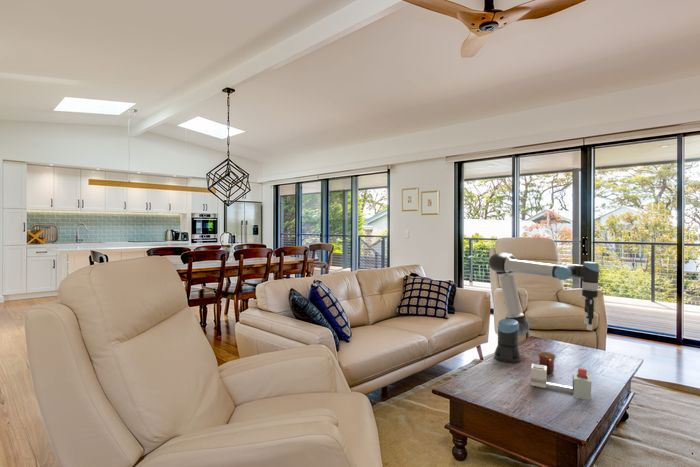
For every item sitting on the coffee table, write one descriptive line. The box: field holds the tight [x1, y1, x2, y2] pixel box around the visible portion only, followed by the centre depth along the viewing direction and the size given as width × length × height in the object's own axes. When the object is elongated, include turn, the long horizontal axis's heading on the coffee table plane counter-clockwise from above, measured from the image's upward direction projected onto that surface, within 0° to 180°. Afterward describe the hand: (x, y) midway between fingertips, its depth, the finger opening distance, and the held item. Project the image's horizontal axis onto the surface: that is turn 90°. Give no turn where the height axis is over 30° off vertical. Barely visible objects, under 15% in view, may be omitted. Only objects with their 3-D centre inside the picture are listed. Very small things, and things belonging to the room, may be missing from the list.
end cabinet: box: [572, 371, 592, 401], centre depth 189 cm, size 7×10×9 cm
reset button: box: [577, 368, 588, 377], centre depth 188 cm, size 4×4×3 cm
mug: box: [537, 351, 556, 376], centre depth 214 cm, size 12×9×10 cm
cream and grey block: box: [530, 363, 548, 389], centre depth 198 cm, size 7×7×9 cm
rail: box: [530, 381, 573, 395], centre depth 195 cm, size 20×2×2 cm, turn 62°
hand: (588, 326), depth 218 cm, fingers open, 13 cm apart
